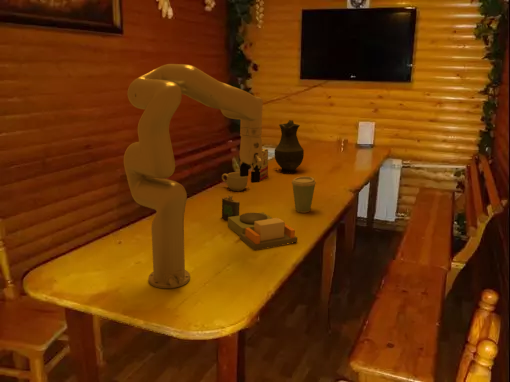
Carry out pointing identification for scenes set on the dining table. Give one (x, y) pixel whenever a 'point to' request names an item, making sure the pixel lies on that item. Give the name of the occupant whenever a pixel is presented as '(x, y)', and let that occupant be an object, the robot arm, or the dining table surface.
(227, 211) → the flask
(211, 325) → the dining table surface
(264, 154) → the candy bar box
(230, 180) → the teacup
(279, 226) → the pale beige box
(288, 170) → the pitcher
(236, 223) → the tray with orange tabs
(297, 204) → the disposable coffee cup
